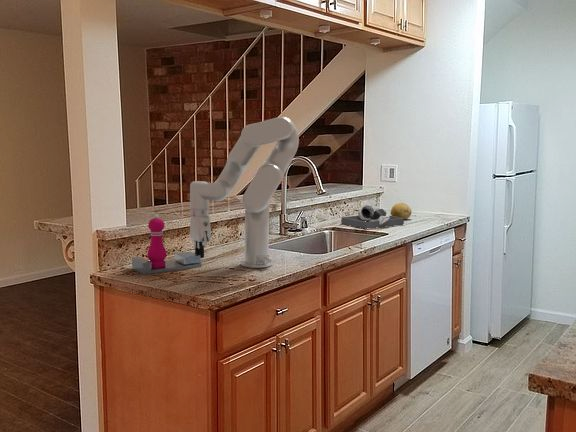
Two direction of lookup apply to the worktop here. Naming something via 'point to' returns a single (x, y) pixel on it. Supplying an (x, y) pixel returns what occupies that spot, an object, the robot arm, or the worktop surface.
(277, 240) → the worktop surface
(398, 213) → the potato
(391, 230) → the worktop surface
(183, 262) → the jaw
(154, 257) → the pepper mill
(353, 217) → the bucket tray
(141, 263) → the vise
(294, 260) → the worktop surface
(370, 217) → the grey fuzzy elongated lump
